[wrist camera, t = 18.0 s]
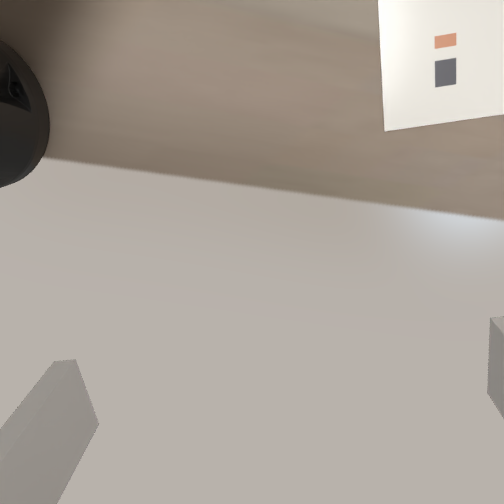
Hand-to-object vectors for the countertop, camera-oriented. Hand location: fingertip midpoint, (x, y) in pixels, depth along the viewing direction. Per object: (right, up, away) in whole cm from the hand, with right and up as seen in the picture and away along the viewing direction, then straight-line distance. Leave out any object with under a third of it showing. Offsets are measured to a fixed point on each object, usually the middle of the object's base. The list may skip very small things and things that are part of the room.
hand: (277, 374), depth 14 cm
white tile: (+16, +21, +25) cm, 36 cm away
